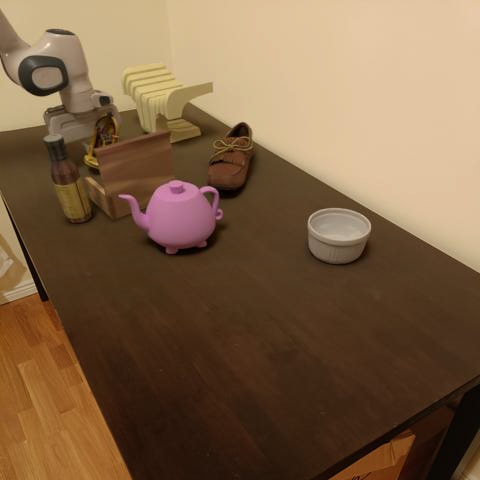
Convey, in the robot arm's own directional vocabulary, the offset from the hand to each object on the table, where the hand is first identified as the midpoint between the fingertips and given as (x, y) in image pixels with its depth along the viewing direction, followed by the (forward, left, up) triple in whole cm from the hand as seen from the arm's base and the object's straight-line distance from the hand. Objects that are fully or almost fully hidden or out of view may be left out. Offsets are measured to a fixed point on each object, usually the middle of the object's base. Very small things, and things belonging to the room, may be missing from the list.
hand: (92, 151), depth 124 cm
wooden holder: (+21, -12, -4) cm, 25 cm away
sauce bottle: (+15, -27, -4) cm, 31 cm away
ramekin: (+76, -15, -4) cm, 78 cm away
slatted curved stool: (+8, +30, -4) cm, 31 cm away
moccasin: (+40, +10, -4) cm, 42 cm away
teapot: (+42, -25, -4) cm, 50 cm away
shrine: (+4, -1, -4) cm, 6 cm away
